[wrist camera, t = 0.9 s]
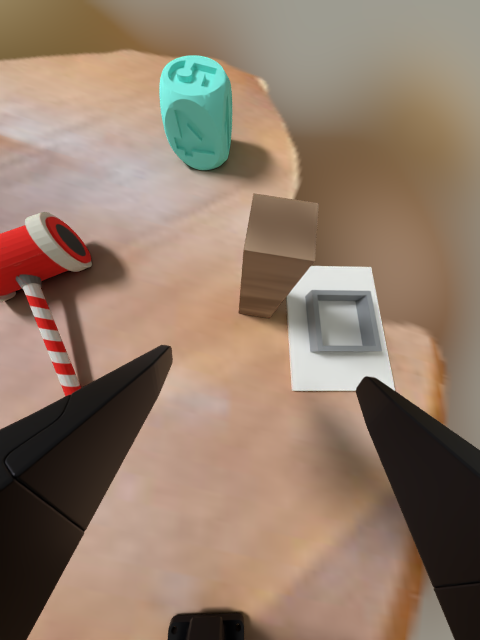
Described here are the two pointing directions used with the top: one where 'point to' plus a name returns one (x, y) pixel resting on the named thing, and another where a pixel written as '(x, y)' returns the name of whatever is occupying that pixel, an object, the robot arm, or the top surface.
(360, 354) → the plate
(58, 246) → the toy hammer
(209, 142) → the decorative dice
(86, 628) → the top surface
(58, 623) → the top surface
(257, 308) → the brown wooden block
